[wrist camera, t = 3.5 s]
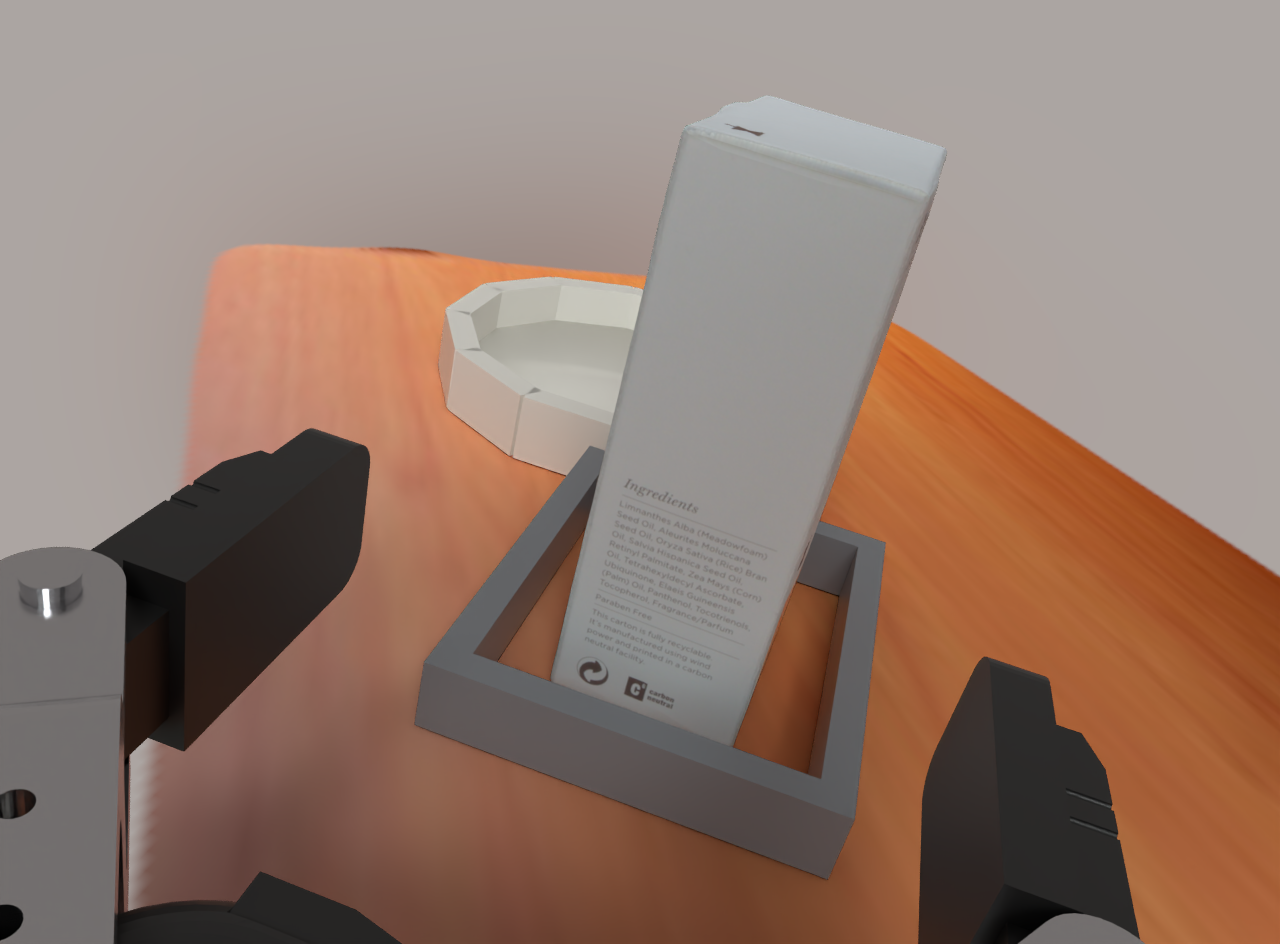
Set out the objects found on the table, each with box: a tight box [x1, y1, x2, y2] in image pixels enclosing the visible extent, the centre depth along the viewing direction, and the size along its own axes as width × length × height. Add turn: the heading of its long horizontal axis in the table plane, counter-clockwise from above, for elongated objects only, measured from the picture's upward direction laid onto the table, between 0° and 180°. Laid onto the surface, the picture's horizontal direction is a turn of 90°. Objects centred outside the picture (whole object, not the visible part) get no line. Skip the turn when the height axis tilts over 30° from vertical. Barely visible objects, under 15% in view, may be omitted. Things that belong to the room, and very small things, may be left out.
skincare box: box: [550, 96, 947, 747], centre depth 22 cm, size 6×4×12 cm
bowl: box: [438, 277, 643, 476], centre depth 35 cm, size 12×12×2 cm
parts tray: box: [414, 446, 886, 880], centre depth 24 cm, size 8×10×2 cm
